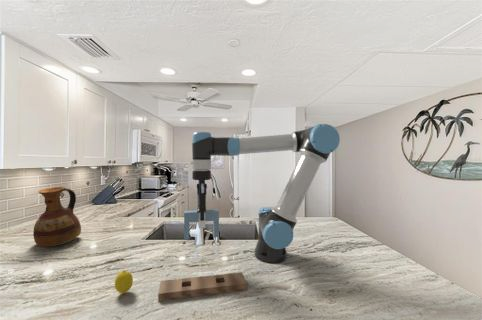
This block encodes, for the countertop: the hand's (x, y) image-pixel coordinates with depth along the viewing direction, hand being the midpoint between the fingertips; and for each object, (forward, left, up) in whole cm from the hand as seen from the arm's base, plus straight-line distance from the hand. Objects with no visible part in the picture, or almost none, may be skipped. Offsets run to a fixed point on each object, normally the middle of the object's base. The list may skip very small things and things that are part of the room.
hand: (201, 226), depth 97 cm
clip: (0, 0, -5) cm, 5 cm away
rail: (0, +14, -18) cm, 23 cm away
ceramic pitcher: (+73, -46, -18) cm, 88 cm away
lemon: (+27, +11, -18) cm, 35 cm away
